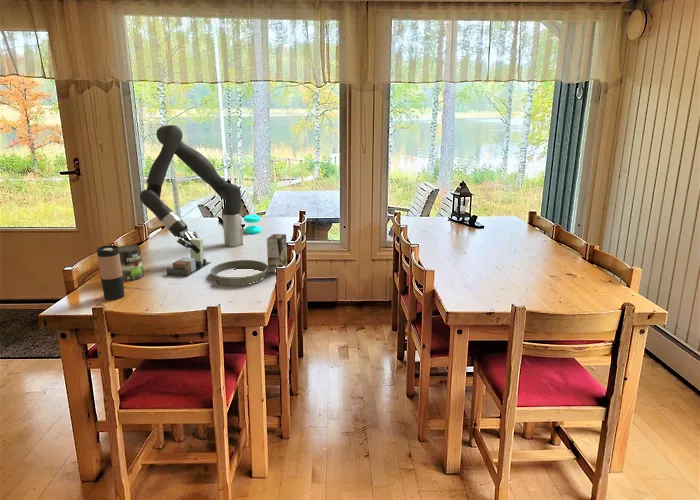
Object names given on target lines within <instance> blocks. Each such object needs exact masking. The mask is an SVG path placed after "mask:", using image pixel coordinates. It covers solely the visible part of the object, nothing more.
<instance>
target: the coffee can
mask: <svg viewBox="0 0 700 500" xmlns="http://www.w3.org/2000/svg"><path fill="white" fill-rule="evenodd" d="M118 248H119V255H120V262H121V268H122V275H123V282H132V281H138V280H141V279H143V278H144V267H143V260H142V252H141V246H140V245H136V244H135V245H134V244H129V245H128V244H127V245H122V246H118Z"/></svg>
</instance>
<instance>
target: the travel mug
mask: <svg viewBox="0 0 700 500" xmlns="http://www.w3.org/2000/svg"><path fill="white" fill-rule="evenodd" d="M118 247H119V246H118V245H103V246H100V247H97V248H96V254H97V263H98V268H99V275H100V277H99V278H100V282H101V286H102V292H103V296H104V300H107V301H116V300H117V301H118V300H120V299H122V298H124V297H125V287H124V285H125V284H124V281H123V275H122V268H121V262H120V255H119V248H118Z"/></svg>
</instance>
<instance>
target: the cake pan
mask: <svg viewBox="0 0 700 500" xmlns="http://www.w3.org/2000/svg"><path fill="white" fill-rule="evenodd" d="M232 269H233V270H236V269H254V270H259V271H262V272H261V273H258V274H255V275H252V276H246V277H224V276H220V275H219V273H221V272H224V271H226V270H227V271H228V270H232ZM267 272H268V263H265V262H263V261H259V260H254V259H237V260H235V259H234V260H229V261H225V262H220V263H218V264H217V265H214V266H213V267H212V268H211V269H210V273H211V275H212V276H213V277H214V279H215V280H216V282H217V283H218V284H220V283H221V284H220V285H223V284H226V285H225V286H229V285H242V284H249V283H253V282H256V281H259V280H261V279H262V278H264V279H265V277H266V273H267ZM264 276H265V277H264ZM261 281H262V280H261ZM259 282H260V281H259ZM253 284H254V283H253ZM249 285H250V284H249ZM242 286H243V285H242Z"/></svg>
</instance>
